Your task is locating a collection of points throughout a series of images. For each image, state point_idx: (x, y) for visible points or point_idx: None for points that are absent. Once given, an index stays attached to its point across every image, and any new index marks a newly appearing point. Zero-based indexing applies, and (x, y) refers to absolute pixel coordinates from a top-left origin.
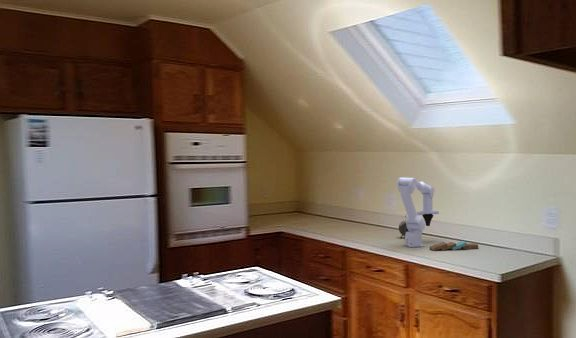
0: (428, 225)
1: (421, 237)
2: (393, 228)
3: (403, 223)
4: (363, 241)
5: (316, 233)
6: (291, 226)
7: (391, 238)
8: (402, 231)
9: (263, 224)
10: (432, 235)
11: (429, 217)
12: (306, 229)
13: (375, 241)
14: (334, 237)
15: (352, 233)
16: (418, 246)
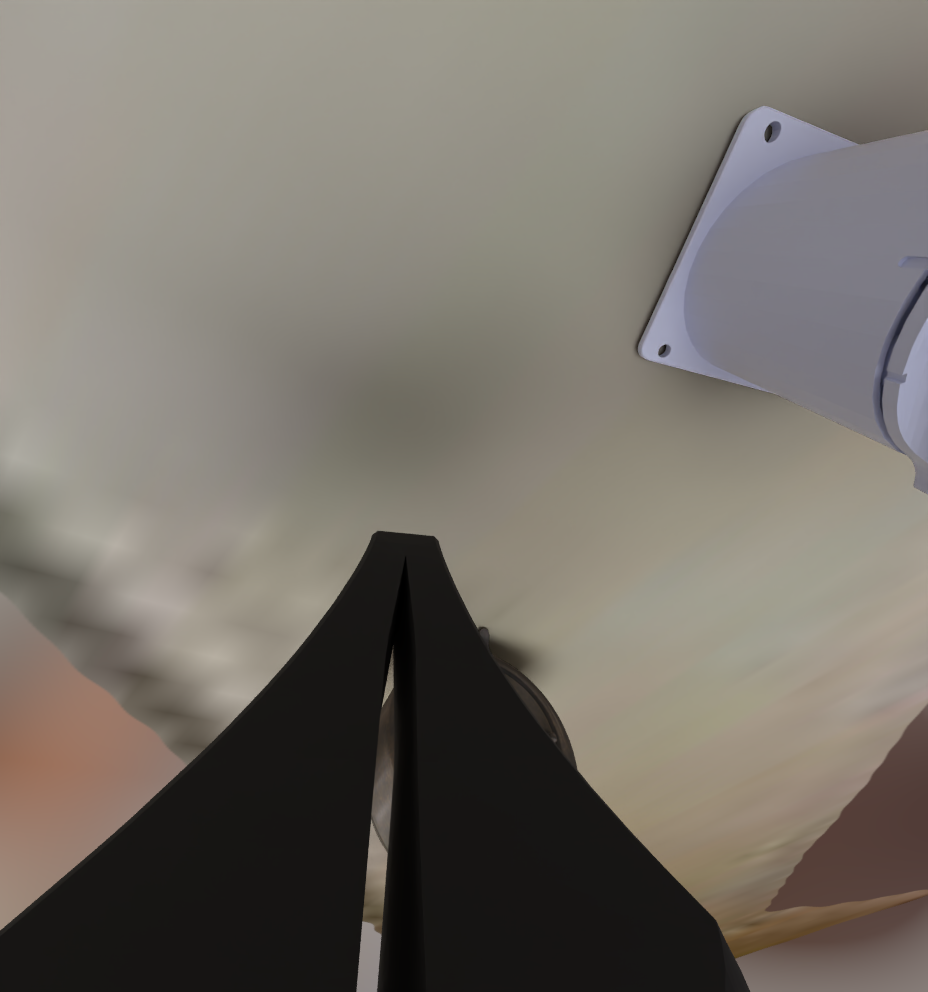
0: (417, 543)
1: (879, 162)
2: None
3: None
4: (881, 662)
5: (800, 846)
6: (720, 920)
7: (598, 678)
8: (551, 714)
9: (759, 939)
10: (135, 667)
11: (365, 863)
12: (737, 891)
13: (819, 636)
14: (853, 780)
15: (659, 821)
16: (848, 145)
